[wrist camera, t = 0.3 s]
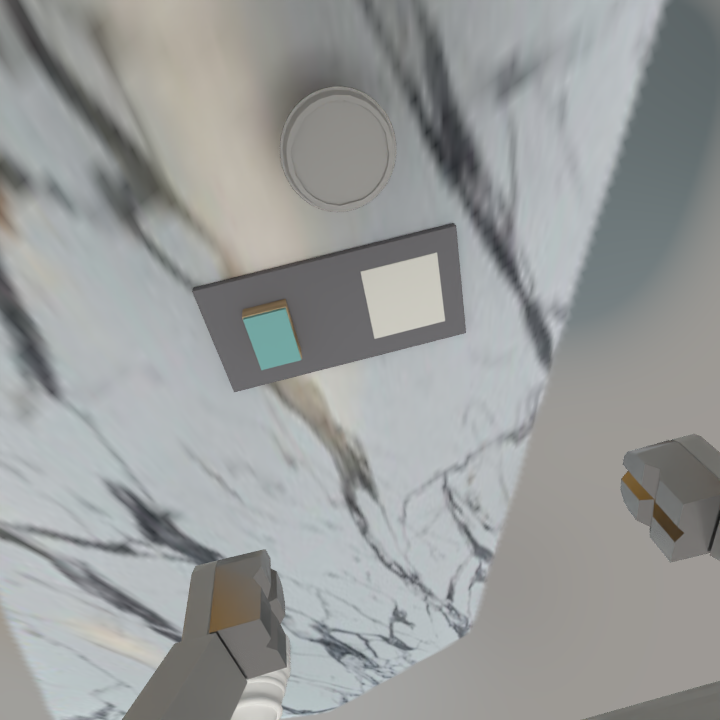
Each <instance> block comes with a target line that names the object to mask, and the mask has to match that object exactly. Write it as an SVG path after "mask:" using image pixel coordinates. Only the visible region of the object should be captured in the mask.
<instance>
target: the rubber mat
mask: <svg viewBox="0 0 720 720" xmlns="http://www.w3.org/2000/svg"><path fill="white" fill-rule="evenodd" d="M192 292H193V294H194V297H195V299H196V301H197V304H198V306H199V309H200V311H201V313H202V316H203V318H204V321H205V323H206V325H207V328H208V330H209V333H210V335H211V337H212V340H213V342H214V345H215V347H216V349H217V352H218V354H219V357H220V359H221V361H222V364H223V366H224V369H225V371H226V373H227V376H228V378H229V381H230V383H231V385H232V388H233V390H234V392H237V391H241V390H245V389H249V388H253V387H257V386H260V385H264V384H268V383H272V382H276V381H280V380H284V379H288V378H292V377H296V376H300V375H303V374H307V373H311V372H315V371H319V370H323V369H327V368H331V367H335V366H339V365H343V364H346V363H350V362H354V361H358V360H362V359H366V358H370V357H374V356H378V355H382V354H385V353H389V352H393V351H397V350H401V349H405V348H409V347H413V346H417V345H421V344H425V343H428V342H432V341H436V340H440V339H444V338H448V337H452V336H456V335H460V334H464V333H466V328H465V317H464V306H463V295H462V285H461V274H460V263H459V252H458V242H457V231H456V225H454V224H449V225H445V226H441V227H437V228H433V229H429V230H425V231H421V232H417V233H413V234H409V235H405V236H401V237H396V238H392V239H388V240H384V241H380V242H376V243H372V244H368V245H364V246H360V247H356V248H352V249H348V250H344V251H340V252H336V253H332V254H328V255H324V256H320V257H316V258H312V259H308V260H304V261H300V262H296V263H292V264H288V265H284V266H280V267H276V268H272V269H268V270H264V271H260V272H256V273H252V274H248V275H244V276H240V277H236V278H232V279H228V280H224V281H220V282H216V283H212V284H208V285H204V286H200V287H196V288H193V291H192ZM283 299H286V302H287V305H288V308H289V312H290V315H291V318H292V321H293V325H294V328H295V331H296V334H297V338H298V341H299V344H300V347H301V352H302V359H301V360H300V361H296V362H292V363H288V364H284V365H280V366H276V367H272V368H268V369H264V370H261V368H260V365H259V362H258V359H257V357H256V354H255V351H254V349H253V346H252V343H251V340H250V338H249V335H248V332H247V330H246V327H245V324H244V322H243V319H242V311H243V309H247V308H251V307H255V306H259V305H263V304H267V303H271V302H275V301H279V300H283Z"/></svg>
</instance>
